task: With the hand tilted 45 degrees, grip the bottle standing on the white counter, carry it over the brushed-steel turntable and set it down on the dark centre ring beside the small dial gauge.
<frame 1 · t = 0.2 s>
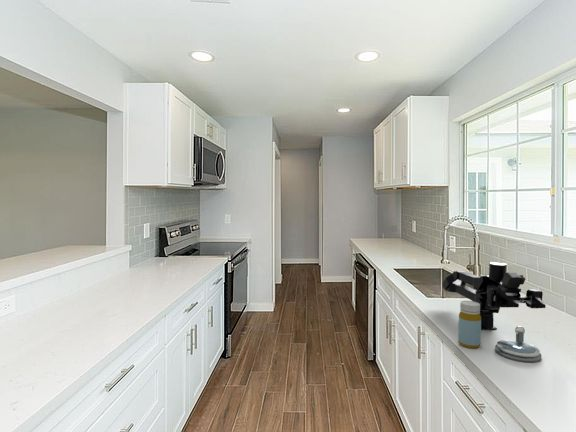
hand: (531, 306, 119), 16 cm above the countertop, tool horizontal, fingers open, 9 cm apart
platter: (517, 348, 120), point 2 cm above the countertop, hinge at 0.0°
turntable base: (517, 353, 120), on the countertop
bottle: (469, 345, 127), on the countertop
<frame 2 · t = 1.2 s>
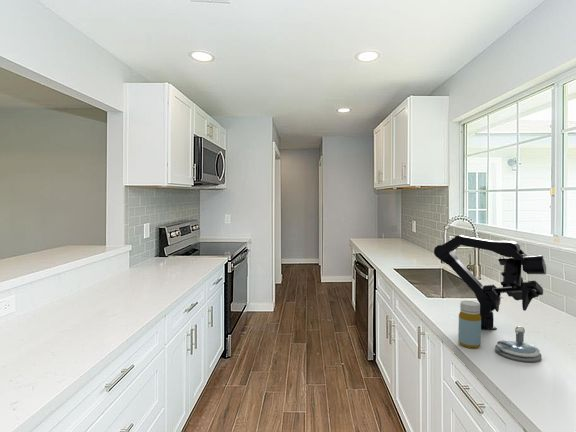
hand: (510, 310, 128), 12 cm above the countertop, tool tilted 40°, fingers open, 9 cm apart
nothing on the countertop moved.
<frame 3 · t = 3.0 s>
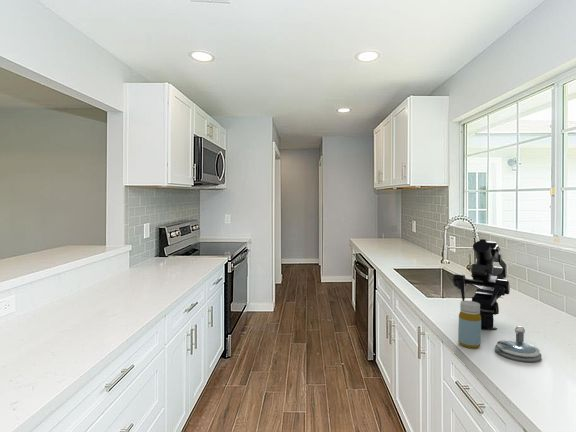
hand: (476, 302, 132), 13 cm above the countertop, tool tilted 45°, fingers open, 9 cm apart
nothing on the countertop moved.
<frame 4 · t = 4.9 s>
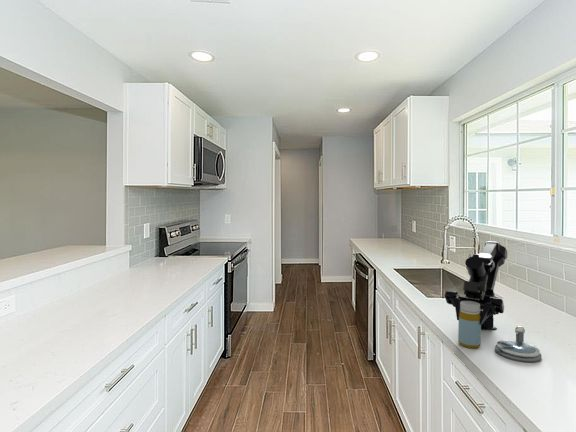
hand: (468, 321, 126), 9 cm above the countertop, tool tilted 45°, fingers closed on bottle, 7 cm apart
bottle: (469, 345, 127), on the countertop, touching gripper
everything else where it was.
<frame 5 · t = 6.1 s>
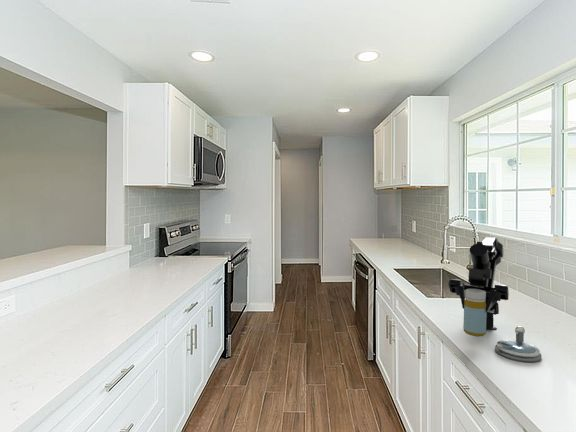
hand: (474, 309, 124), 13 cm above the countertop, tool tilted 45°, fingers closed on bottle, 7 cm apart
bottle: (474, 333, 126), point 4 cm above the countertop, touching gripper
everything else where it was.
when the fingers open (12 cm above the countertop, at t = 7.8 s): bottle drops 1 cm, resting on platter.
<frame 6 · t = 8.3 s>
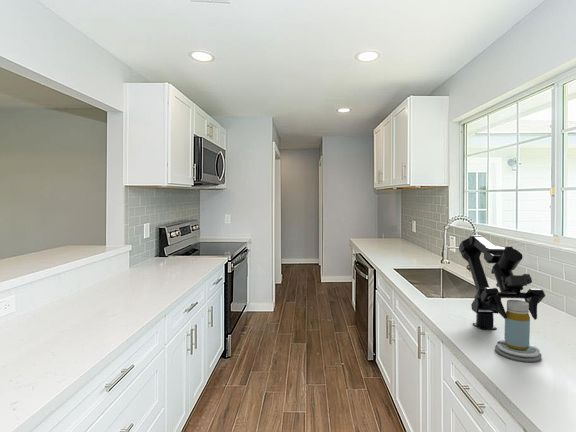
hand: (520, 318, 118), 12 cm above the countertop, tool tilted 45°, fingers open, 9 cm apart
platter: (517, 348, 120), point 2 cm above the countertop, hinge at 0.0°, touching bottle
bottle: (516, 347, 120), point 2 cm above the countertop, touching platter
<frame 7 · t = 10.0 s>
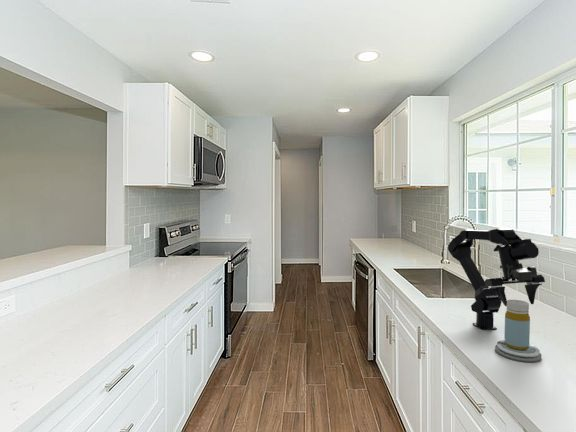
hand: (519, 305, 129), 13 cm above the countertop, tool tilted 15°, fingers open, 9 cm apart
nothing on the countertop moved.
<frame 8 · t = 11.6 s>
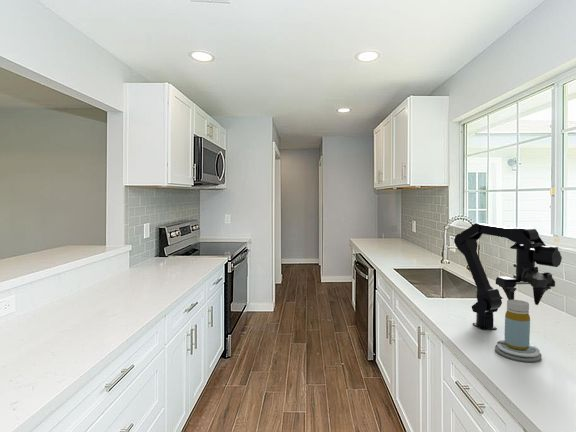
hand: (524, 305, 131), 13 cm above the countertop, tool pointing down, fingers open, 9 cm apart
nothing on the countertop moved.
at the end: bottle 0.4 cm from the platter (horizontally); bottle tilted 0°; the gripper is holding nothing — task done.
